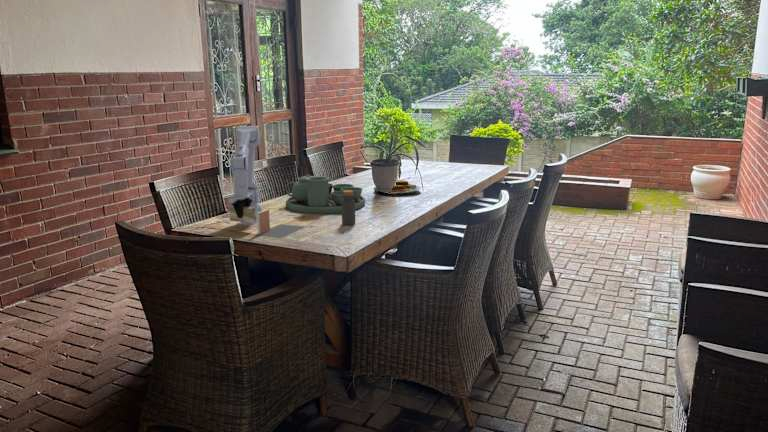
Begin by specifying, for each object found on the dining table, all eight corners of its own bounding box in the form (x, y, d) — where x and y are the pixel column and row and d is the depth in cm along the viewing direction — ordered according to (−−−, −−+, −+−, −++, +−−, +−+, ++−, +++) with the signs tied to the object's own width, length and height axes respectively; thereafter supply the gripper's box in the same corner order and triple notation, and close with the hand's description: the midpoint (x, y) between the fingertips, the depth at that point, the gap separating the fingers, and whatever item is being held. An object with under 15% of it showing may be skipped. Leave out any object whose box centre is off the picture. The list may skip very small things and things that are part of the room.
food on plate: (398, 198, 325) (398, 186, 323) (367, 193, 342) (367, 181, 341) (430, 192, 342) (430, 181, 340) (399, 187, 360) (399, 176, 358)
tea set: (376, 210, 297) (375, 177, 294) (296, 217, 283) (295, 182, 279) (350, 196, 333) (349, 166, 330) (278, 202, 319) (276, 171, 315)
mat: (280, 225, 266) (280, 224, 266) (306, 228, 261) (306, 226, 261) (254, 236, 248) (254, 234, 248) (281, 239, 243) (281, 237, 243)
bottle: (355, 222, 270) (354, 189, 267) (355, 225, 265) (354, 192, 261) (342, 222, 270) (341, 189, 267) (341, 225, 264) (341, 192, 261)
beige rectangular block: (234, 219, 258) (233, 205, 257) (256, 221, 254) (255, 207, 253) (230, 220, 255) (229, 206, 254) (251, 222, 251) (251, 208, 250)
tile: (267, 230, 255) (266, 209, 253) (270, 230, 255) (268, 209, 253) (258, 234, 249) (256, 212, 247) (260, 234, 248) (259, 213, 246)
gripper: (238, 188, 243) (240, 221, 246) (258, 182, 256) (260, 214, 259) (223, 187, 246) (225, 219, 249) (244, 181, 259) (246, 212, 262)
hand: (242, 216), depth 254 cm, fingers closed on beige rectangular block, 3 cm apart
